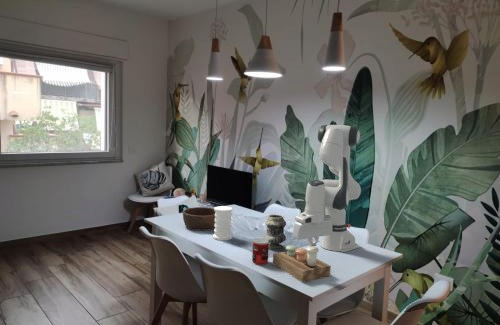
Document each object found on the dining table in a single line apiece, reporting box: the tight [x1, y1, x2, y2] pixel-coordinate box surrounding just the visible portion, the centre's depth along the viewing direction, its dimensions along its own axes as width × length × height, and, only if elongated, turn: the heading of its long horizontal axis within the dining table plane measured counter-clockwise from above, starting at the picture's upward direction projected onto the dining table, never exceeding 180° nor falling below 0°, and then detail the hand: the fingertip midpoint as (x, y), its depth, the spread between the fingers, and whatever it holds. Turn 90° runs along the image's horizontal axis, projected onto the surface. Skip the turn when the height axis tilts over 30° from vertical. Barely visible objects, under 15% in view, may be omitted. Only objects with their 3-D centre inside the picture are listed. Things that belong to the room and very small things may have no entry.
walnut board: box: [272, 250, 332, 283], centre depth 172 cm, size 16×24×5 cm, turn 29°
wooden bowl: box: [182, 206, 215, 231], centre depth 238 cm, size 25×25×10 cm
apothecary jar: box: [263, 214, 287, 251], centre depth 202 cm, size 12×12×18 cm
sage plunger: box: [285, 245, 298, 256], centre depth 179 cm, size 6×6×8 cm
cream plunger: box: [305, 246, 319, 266], centre depth 164 cm, size 6×6×8 cm
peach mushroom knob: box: [295, 248, 308, 262], centre depth 172 cm, size 6×6×8 cm
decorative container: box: [212, 205, 233, 242], centre depth 216 cm, size 12×12×18 cm
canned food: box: [251, 238, 270, 266], centre depth 179 cm, size 8×8×11 cm
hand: (312, 246), depth 164 cm, fingers closed
